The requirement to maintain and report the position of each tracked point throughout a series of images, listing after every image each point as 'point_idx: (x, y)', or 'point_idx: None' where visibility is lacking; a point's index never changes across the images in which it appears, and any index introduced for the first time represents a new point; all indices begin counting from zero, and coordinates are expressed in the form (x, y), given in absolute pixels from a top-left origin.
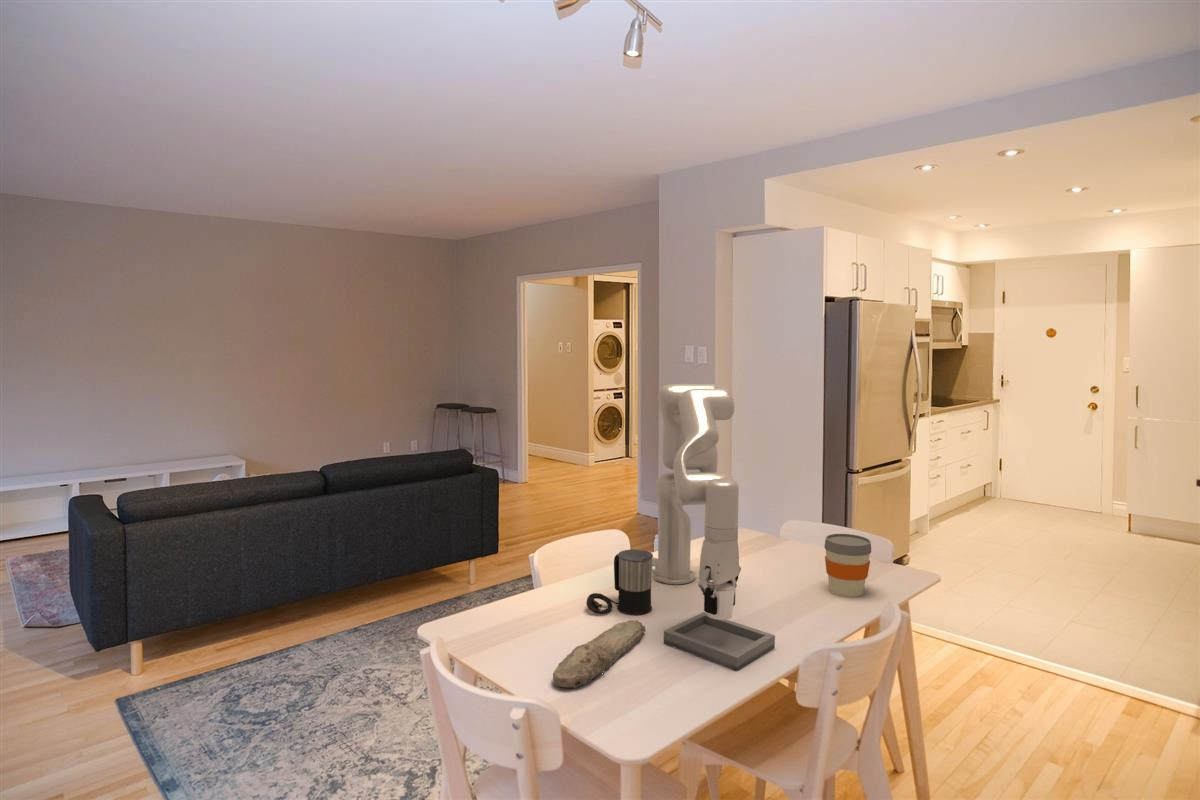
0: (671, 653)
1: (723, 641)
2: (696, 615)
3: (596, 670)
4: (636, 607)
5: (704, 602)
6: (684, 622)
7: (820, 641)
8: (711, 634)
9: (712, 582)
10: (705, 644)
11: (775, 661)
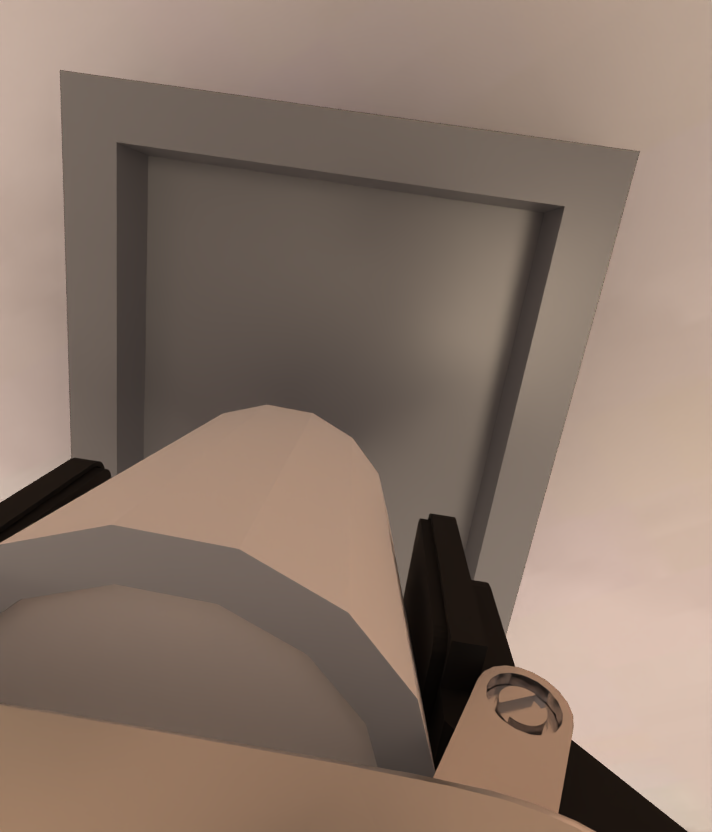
0: (39, 232)
1: None
2: (526, 138)
3: None
4: None
5: (8, 502)
6: (323, 127)
7: (669, 801)
8: (383, 346)
9: (237, 607)
10: (92, 450)
11: None
